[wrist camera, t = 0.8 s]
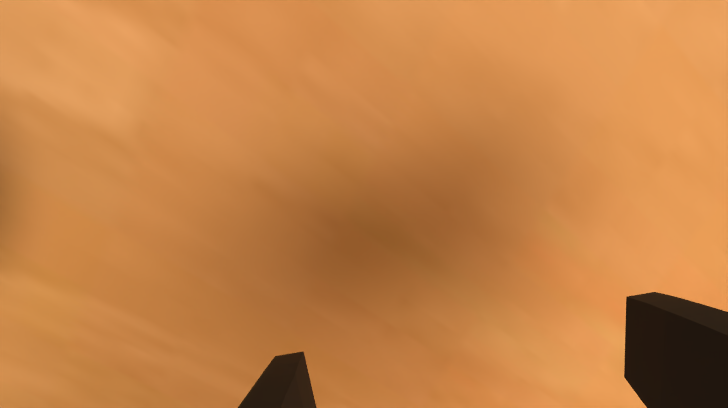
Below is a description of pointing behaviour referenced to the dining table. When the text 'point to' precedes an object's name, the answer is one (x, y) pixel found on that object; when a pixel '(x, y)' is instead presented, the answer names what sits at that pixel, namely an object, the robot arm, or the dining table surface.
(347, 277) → the dining table surface
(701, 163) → the dining table surface
